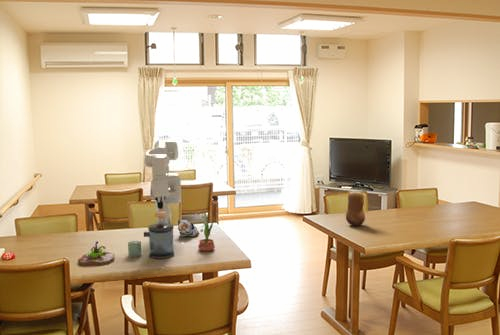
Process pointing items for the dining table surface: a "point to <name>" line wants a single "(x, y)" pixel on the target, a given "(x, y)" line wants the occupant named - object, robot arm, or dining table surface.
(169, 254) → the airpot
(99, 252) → the plant
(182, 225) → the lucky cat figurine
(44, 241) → the dining table surface
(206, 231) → the potted flower
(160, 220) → the push button
